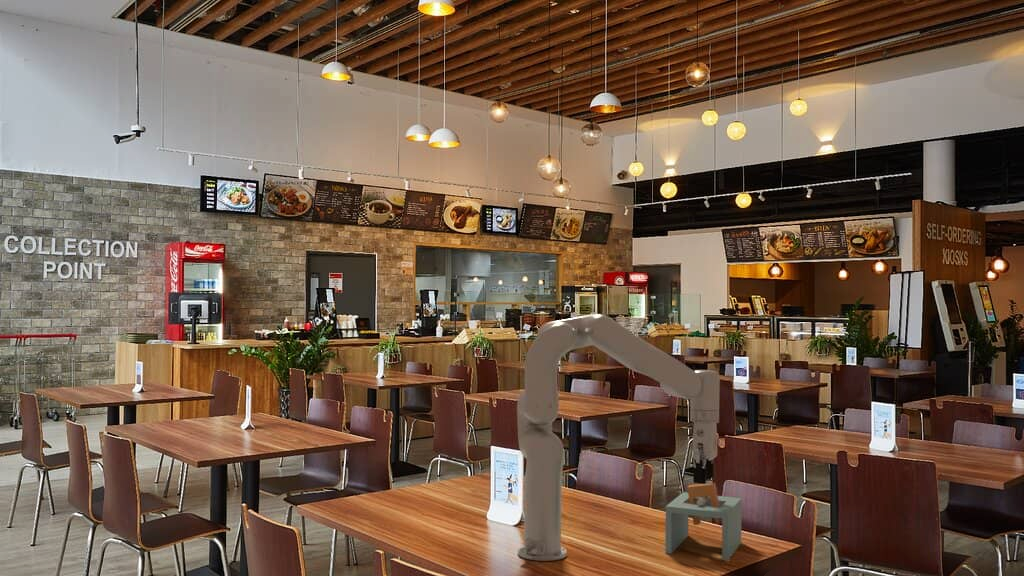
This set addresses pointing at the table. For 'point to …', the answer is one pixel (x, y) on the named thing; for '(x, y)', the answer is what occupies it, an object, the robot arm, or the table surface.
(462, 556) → the table surface
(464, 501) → the table surface
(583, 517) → the table surface
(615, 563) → the table surface
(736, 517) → the shelf
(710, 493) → the wooden arch bridge
